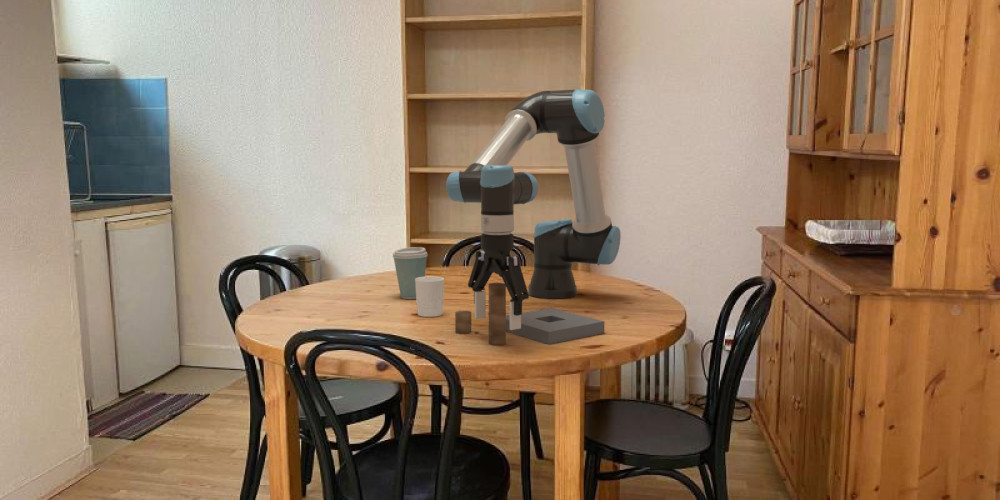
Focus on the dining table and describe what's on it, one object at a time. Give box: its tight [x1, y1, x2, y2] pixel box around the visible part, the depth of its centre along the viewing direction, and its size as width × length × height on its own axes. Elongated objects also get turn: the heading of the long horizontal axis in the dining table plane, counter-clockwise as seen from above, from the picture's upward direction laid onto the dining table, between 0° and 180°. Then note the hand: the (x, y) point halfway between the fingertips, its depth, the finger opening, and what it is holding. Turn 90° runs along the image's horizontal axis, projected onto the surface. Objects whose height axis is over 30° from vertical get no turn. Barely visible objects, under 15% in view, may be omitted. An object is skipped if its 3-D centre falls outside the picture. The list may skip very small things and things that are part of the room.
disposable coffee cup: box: [392, 246, 429, 300], centre depth 233 cm, size 11×11×15 cm
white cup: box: [415, 275, 445, 318], centre depth 210 cm, size 8×8×10 cm
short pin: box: [454, 310, 472, 335], centre depth 190 cm, size 4×4×5 cm
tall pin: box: [488, 282, 507, 347], centre depth 178 cm, size 4×4×14 cm
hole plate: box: [506, 307, 606, 345], centre depth 192 cm, size 20×18×3 cm
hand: (497, 323), depth 179 cm, fingers open, 13 cm apart
